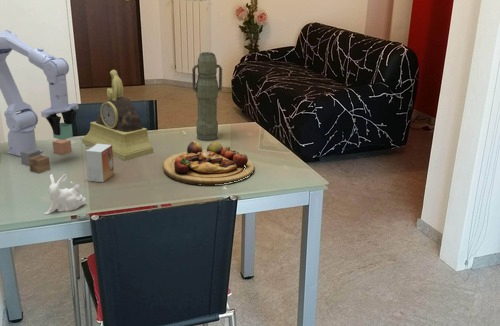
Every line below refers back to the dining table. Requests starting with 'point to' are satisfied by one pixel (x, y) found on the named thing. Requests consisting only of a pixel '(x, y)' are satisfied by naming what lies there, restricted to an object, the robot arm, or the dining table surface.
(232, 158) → the wooden plate with food
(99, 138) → the decorative clock
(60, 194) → the rabbit figurine
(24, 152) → the charcoal block
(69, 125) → the green block
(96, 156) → the small box
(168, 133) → the dining table surface
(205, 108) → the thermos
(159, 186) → the dining table surface
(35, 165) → the walnut block
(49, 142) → the dining table surface
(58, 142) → the terracotta block
